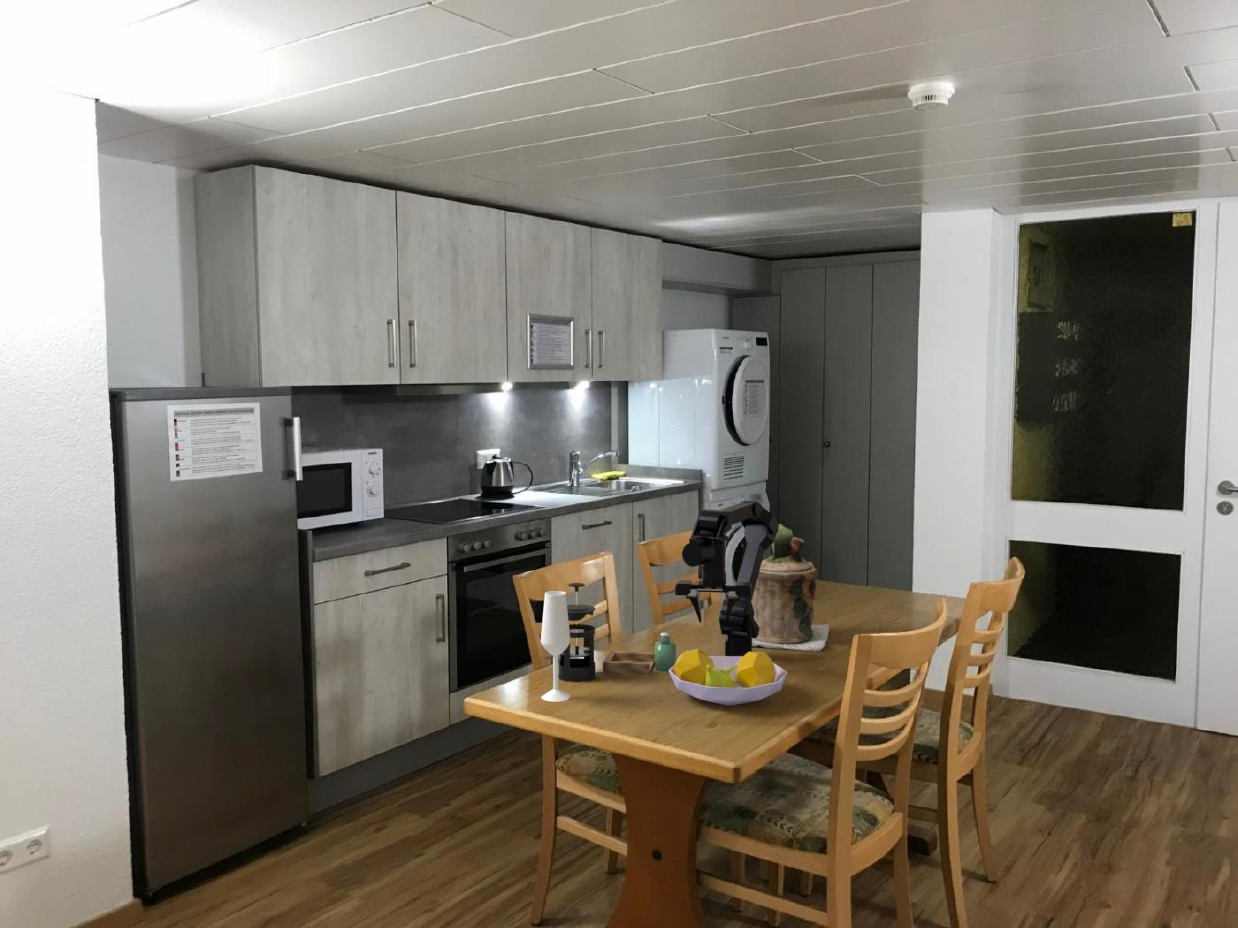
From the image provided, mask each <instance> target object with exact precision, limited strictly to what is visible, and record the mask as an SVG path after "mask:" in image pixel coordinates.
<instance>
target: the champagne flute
mask: <svg viewBox="0 0 1238 928" xmlns="http://www.w3.org/2000/svg"><path fill="white" fill-rule="evenodd" d="M567 605H568V603H567V593H566V592H565V591H562V590H556V591H555V590H554V591H553V590H549V591H546V592H544V600H543V612H542V623H541V634H540V635H541V636H540V643H541V645H542V647H543V648H544V650H545V651H547V653H549V655H552V660H553V661H552V669H553V670H552V672H553V673H552V677H553V678H552V680H553V683H552V684H553V687H552V689H551V690H550V691H547V692H546V693H544V695H541V699H542V700H543V701H546V702H554V703H555V702H557V703H558V702H559V703H560V702H565V701H568V700H569V698H570V699H571V697H570V696H571V695H570V694H568V693H567V692H566V691H565V692H564V691H563V690H561V688H560V687H559V678H558V674H559V663H558V655H559V656H560V654H561V653H562V652H563V651H564V650H565V649H566V648H567V647H568V645H569V644H570V645H571V638H570V630H569V624H570V623H569V621H568V611H567Z"/></svg>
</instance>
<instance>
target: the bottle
mask: <svg viewBox="0 0 1238 928" xmlns="http://www.w3.org/2000/svg"><path fill="white" fill-rule="evenodd" d="M671 633H672V632H667V631H665V632H661V633H660V641H656V642H655V644H654V645H655V646H654V648H655V649H654V665H655V666H654V670H656V671H658V672H662V673H663V672H665V673H667V672H668V673H669V671H668V670H669V669H671V668H672V667H673V666H674V664H675V663H676V661H677V643H676V642H675V641H671Z"/></svg>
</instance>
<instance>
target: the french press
mask: <svg viewBox="0 0 1238 928" xmlns="http://www.w3.org/2000/svg"><path fill="white" fill-rule="evenodd" d="M567 586H568V587H571V588H574V592H575V604H567V611H568V621H571V622H575V623H569V632H570V630H572V631H573V630H576V631H575V632H570V639H575V643H576V644H575V646H571V643H570V644H569V645H568V647H567V648H566V649H565V650H564V651H563V652H562V653H561V654H560V655H558V680H561V681H563V682H568V681H573V682H572V683H582V682H581V681H585V682H590V681H592V680H594V679H596V678H597V673H596V661H595V635H596V626H594V625H591V624H586V623H585V624H584V623H578V622H579V621H581V620H582V619H584V618H585V617H586V616H587V615H589V616H591V617H592V616H594V612H595V611H596V607H595V606H593V605H588V604H578V592H579V591H580V588H582V587H586V584H585V583H582V582H571V583H569V584H567ZM579 630H583V631H581V632H578V631H579ZM579 639H583V646H582V645H580V646H579V645H578V643H579V641H578V640H579Z"/></svg>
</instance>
